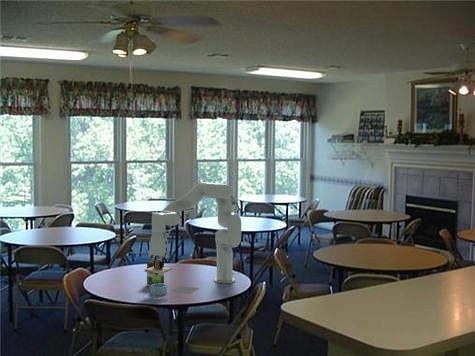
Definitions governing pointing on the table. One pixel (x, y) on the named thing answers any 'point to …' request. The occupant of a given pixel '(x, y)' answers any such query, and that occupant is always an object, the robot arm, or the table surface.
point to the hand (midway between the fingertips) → (158, 267)
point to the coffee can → (153, 275)
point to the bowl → (158, 289)
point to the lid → (157, 269)
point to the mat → (185, 289)
